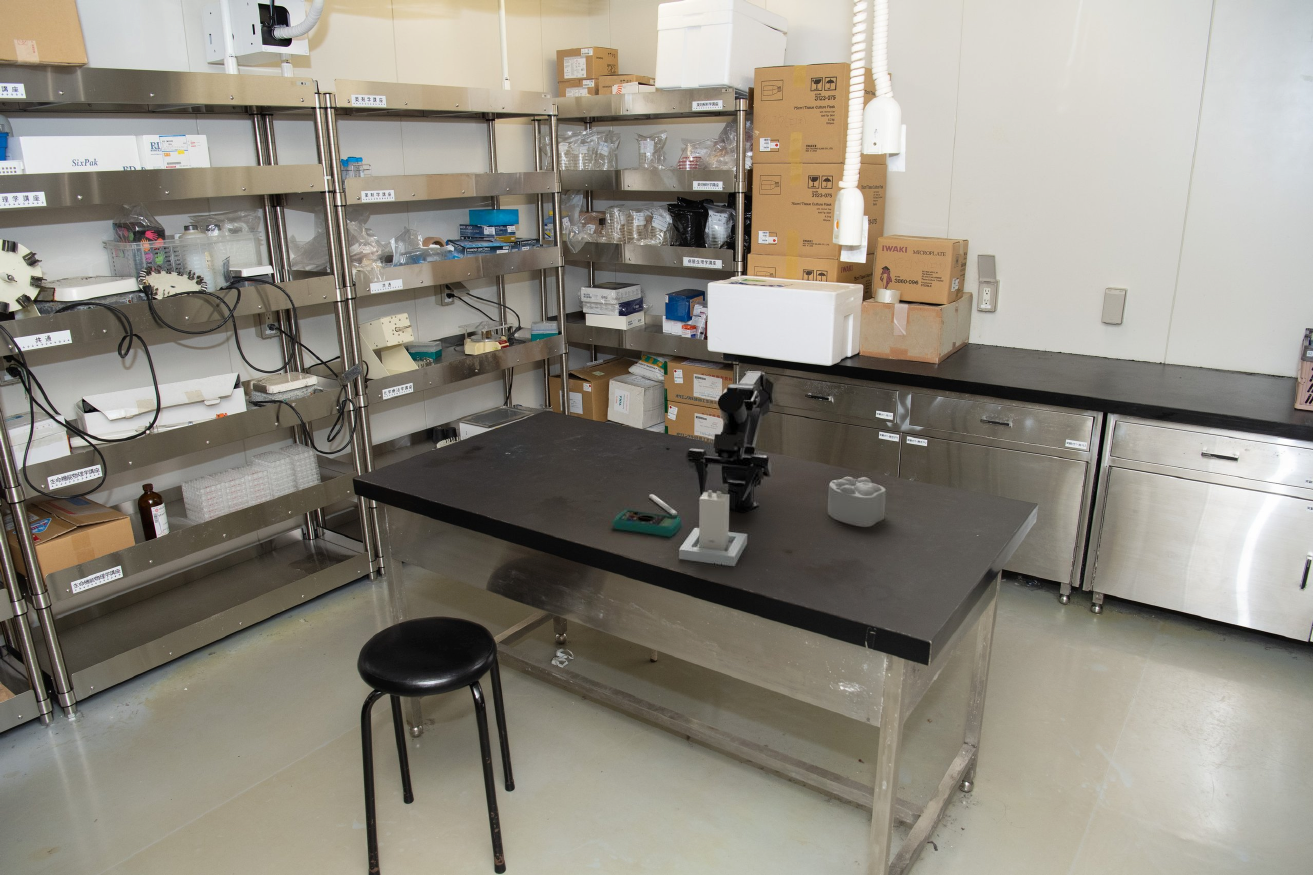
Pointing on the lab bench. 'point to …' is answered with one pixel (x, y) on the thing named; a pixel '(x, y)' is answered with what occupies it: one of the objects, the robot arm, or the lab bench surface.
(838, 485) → the lumpy-topped squat cylinder
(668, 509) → the white rod
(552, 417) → the lab bench surface
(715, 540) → the adapter
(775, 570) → the lab bench surface
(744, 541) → the outlet plate
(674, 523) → the digital multimeter
